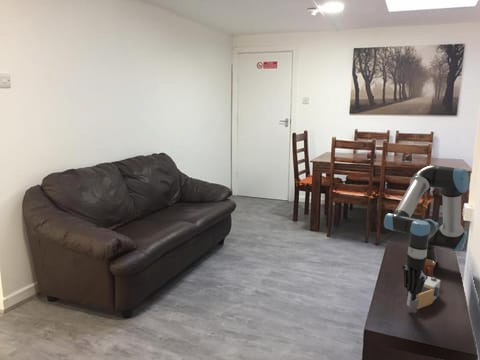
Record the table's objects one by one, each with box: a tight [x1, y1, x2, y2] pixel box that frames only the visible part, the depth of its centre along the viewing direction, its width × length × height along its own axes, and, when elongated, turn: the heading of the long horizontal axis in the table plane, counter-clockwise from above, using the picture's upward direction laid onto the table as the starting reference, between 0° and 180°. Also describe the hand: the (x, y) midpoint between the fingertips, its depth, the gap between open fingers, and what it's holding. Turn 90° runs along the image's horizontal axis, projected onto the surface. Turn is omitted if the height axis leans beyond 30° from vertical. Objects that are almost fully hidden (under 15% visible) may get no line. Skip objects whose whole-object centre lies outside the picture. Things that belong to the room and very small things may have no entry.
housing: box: [416, 276, 442, 302], centre depth 190 cm, size 10×12×9 cm
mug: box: [423, 259, 436, 277], centre depth 205 cm, size 12×9×10 cm
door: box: [408, 288, 434, 310], centre depth 179 cm, size 1×16×8 cm, turn 120°
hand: (410, 305), depth 177 cm, fingers closed
